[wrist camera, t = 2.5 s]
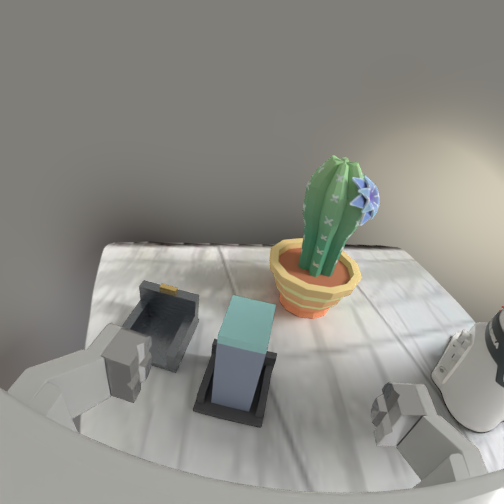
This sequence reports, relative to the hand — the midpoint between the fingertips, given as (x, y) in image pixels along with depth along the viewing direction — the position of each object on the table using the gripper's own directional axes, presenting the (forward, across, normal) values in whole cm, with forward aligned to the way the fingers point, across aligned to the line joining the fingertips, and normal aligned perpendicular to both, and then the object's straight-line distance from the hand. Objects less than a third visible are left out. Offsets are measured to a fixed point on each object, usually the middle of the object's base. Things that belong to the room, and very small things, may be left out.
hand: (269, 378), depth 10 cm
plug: (+19, +1, +22) cm, 29 cm away
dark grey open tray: (+19, +1, +22) cm, 29 cm away
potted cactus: (+39, -8, +19) cm, 44 cm away
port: (+24, +12, +22) cm, 35 cm away
